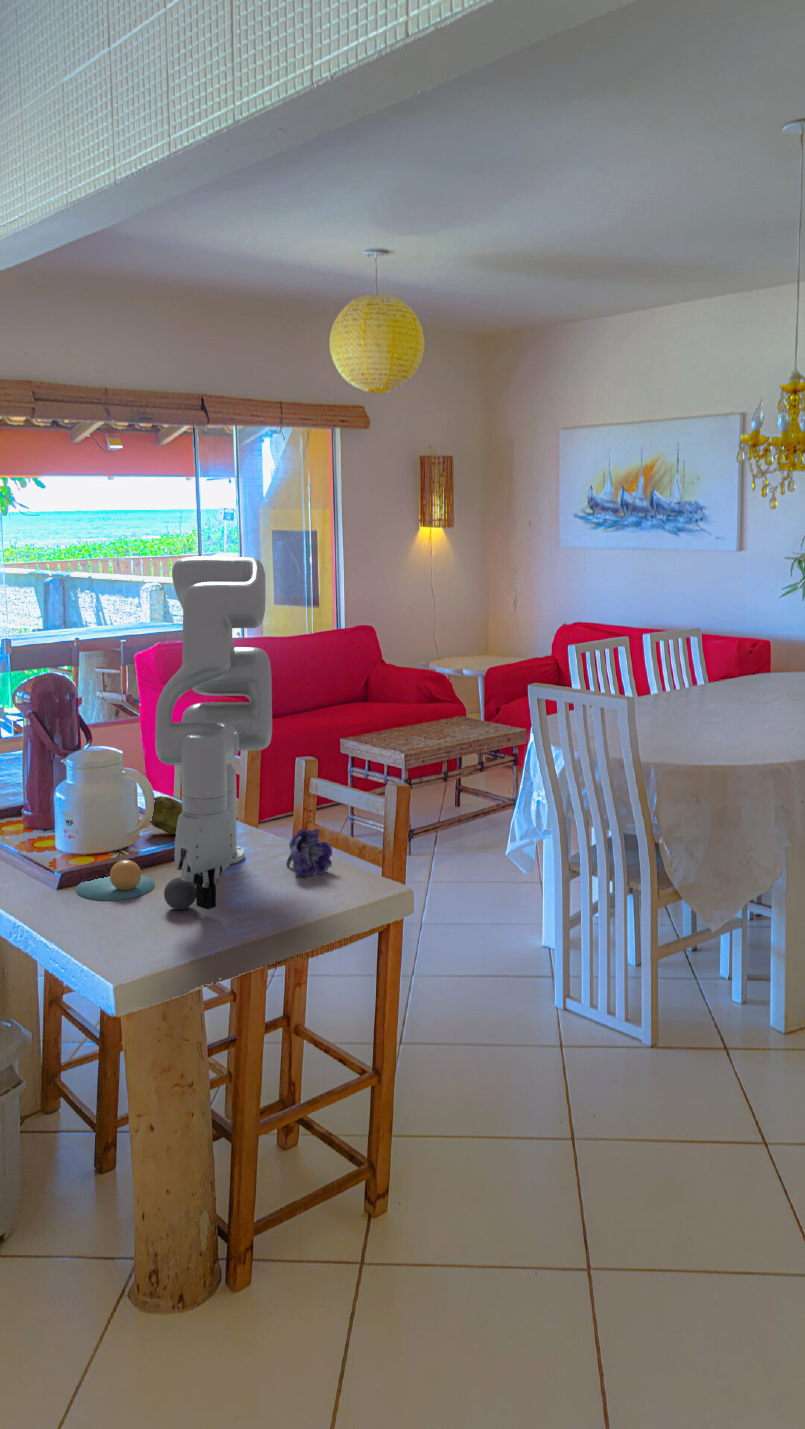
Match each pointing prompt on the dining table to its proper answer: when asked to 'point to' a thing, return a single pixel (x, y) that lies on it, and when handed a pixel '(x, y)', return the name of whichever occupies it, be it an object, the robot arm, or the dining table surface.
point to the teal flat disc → (112, 889)
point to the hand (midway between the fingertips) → (206, 906)
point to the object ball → (125, 875)
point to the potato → (166, 814)
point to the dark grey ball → (180, 894)
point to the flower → (309, 853)
